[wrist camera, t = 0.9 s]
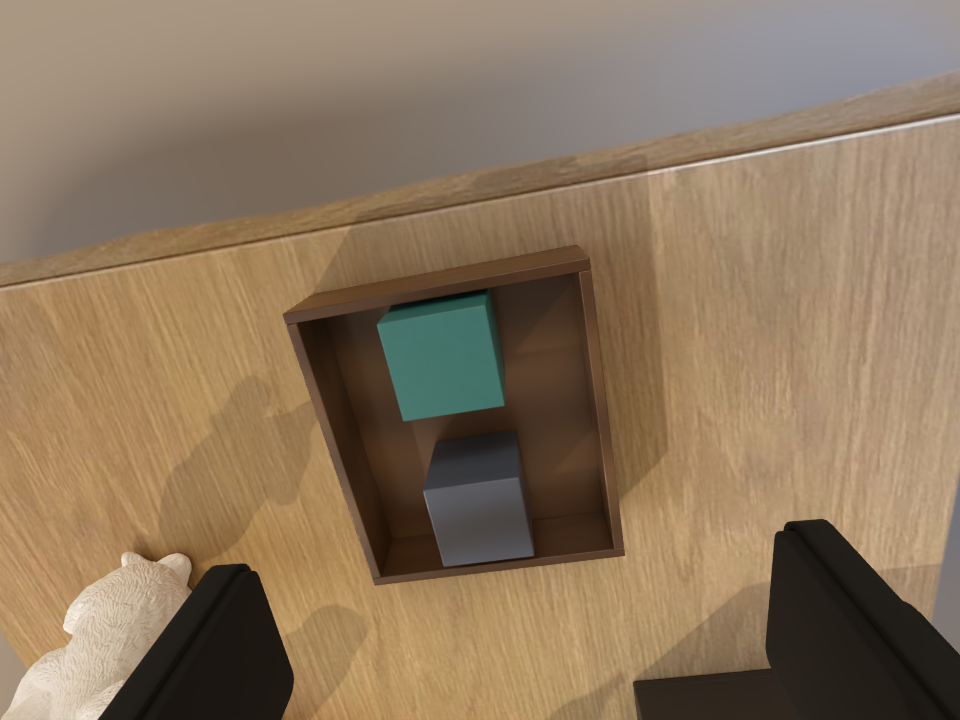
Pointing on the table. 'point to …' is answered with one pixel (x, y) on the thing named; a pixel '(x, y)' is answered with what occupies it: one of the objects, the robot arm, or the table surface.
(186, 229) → the table surface
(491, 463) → the slate block
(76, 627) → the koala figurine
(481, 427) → the box
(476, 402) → the teal block
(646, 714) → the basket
